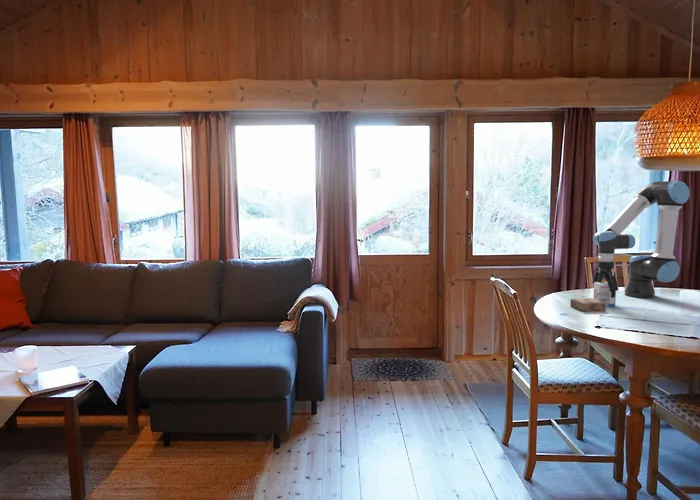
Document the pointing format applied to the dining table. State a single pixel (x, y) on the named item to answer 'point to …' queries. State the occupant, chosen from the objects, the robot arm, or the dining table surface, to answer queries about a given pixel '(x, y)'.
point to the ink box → (602, 293)
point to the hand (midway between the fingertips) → (604, 300)
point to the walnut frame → (587, 304)
